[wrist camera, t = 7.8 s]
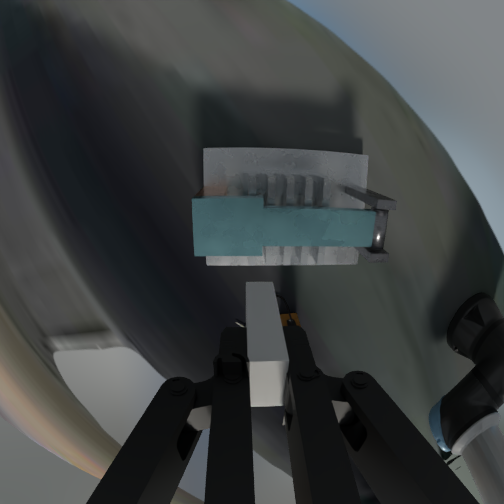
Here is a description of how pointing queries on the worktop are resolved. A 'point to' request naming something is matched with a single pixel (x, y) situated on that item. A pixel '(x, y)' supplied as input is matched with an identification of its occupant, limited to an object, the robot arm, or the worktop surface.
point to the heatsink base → (289, 160)
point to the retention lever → (279, 226)
